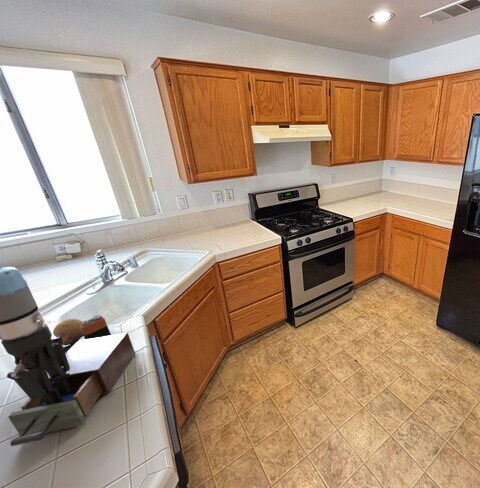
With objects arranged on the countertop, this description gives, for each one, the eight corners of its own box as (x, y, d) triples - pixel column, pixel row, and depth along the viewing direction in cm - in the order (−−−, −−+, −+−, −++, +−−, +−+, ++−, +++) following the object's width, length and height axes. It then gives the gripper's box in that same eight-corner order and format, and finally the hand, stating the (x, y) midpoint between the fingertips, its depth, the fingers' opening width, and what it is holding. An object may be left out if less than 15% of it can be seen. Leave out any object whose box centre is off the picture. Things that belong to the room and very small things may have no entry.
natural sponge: (90, 331, 106) (81, 310, 103) (92, 341, 100) (83, 319, 97) (60, 342, 100) (49, 321, 97) (60, 354, 94) (49, 331, 91)
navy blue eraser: (42, 413, 68) (38, 406, 67) (49, 405, 70) (45, 398, 69) (82, 404, 69) (78, 398, 69) (88, 397, 72) (84, 390, 71)
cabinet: (109, 393, 76) (98, 369, 73) (51, 405, 74) (37, 380, 71) (135, 353, 92) (127, 332, 89) (88, 362, 89) (78, 340, 86)
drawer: (67, 448, 61) (54, 426, 59) (-1, 463, 59) (-17, 441, 57) (115, 377, 81) (107, 358, 79) (66, 386, 79) (56, 367, 76)
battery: (112, 338, 101) (103, 316, 98) (90, 348, 96) (80, 325, 93) (108, 334, 103) (99, 312, 100) (86, 344, 98) (76, 322, 95)
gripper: (13, 350, 55) (58, 428, 63) (65, 310, 69) (96, 378, 77) (-30, 357, 54) (22, 436, 62) (32, 315, 68) (67, 384, 76)
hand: (63, 404), depth 70 cm, fingers closed on navy blue eraser, 2 cm apart
